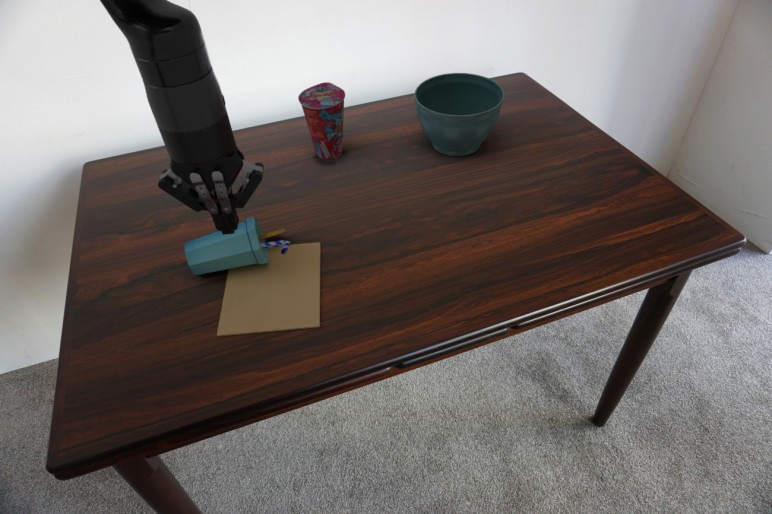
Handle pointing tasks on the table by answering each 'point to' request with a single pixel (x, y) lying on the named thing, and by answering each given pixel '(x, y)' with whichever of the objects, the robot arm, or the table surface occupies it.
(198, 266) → the cup
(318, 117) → the cup
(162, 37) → the robot arm
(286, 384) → the table surface
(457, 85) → the flower pot
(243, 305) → the cork mat
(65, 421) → the table surface
